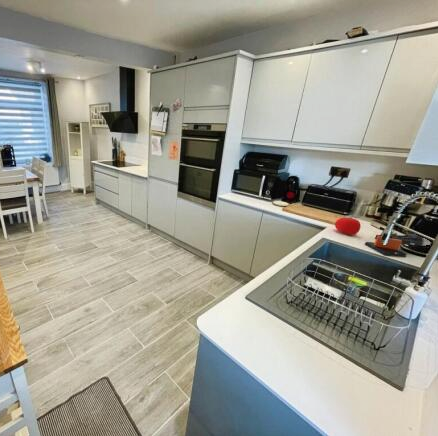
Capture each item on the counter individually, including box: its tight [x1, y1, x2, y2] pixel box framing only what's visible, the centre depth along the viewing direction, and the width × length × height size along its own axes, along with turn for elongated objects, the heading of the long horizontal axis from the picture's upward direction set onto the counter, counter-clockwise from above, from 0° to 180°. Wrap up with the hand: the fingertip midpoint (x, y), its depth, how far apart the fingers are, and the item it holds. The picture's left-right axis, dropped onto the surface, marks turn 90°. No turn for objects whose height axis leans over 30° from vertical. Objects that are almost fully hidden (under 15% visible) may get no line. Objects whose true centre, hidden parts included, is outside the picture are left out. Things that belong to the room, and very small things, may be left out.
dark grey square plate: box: [364, 241, 408, 258], centre depth 144 cm, size 15×15×2 cm
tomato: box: [334, 216, 361, 236], centre depth 166 cm, size 12×14×11 cm
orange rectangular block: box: [374, 236, 402, 250], centre depth 142 cm, size 11×2×6 cm, turn 67°
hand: (376, 237), depth 145 cm, fingers closed
